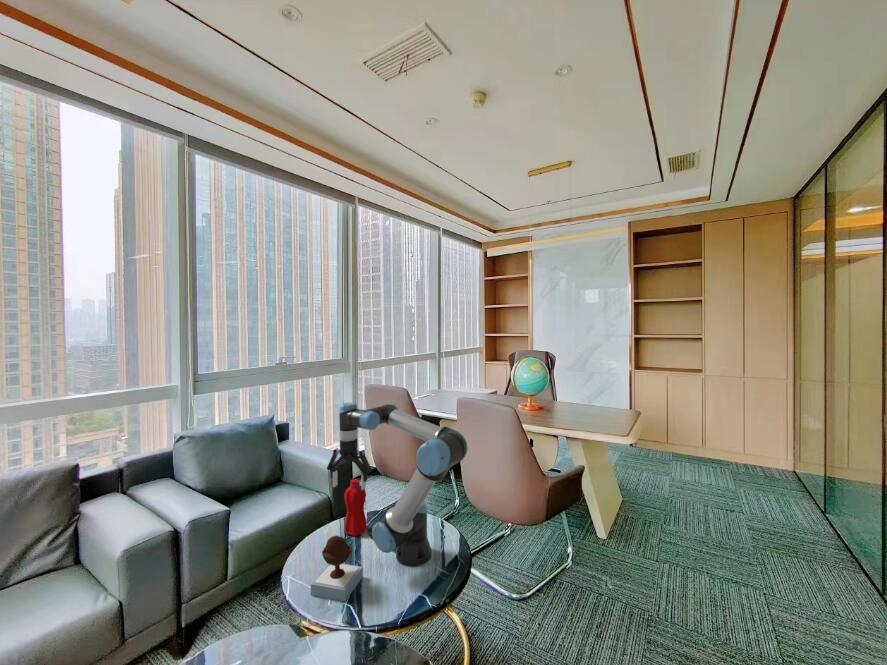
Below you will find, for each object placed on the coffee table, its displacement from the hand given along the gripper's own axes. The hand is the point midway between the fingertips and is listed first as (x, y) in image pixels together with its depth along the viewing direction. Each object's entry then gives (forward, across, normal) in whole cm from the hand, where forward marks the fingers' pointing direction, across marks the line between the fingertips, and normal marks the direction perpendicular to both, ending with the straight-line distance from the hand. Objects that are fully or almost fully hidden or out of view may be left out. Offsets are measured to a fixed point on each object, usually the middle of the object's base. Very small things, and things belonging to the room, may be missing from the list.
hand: (349, 487), depth 167 cm
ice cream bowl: (+25, -6, +21) cm, 33 cm away
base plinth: (+29, -6, +21) cm, 36 cm away
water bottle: (+29, +5, -16) cm, 34 cm away
